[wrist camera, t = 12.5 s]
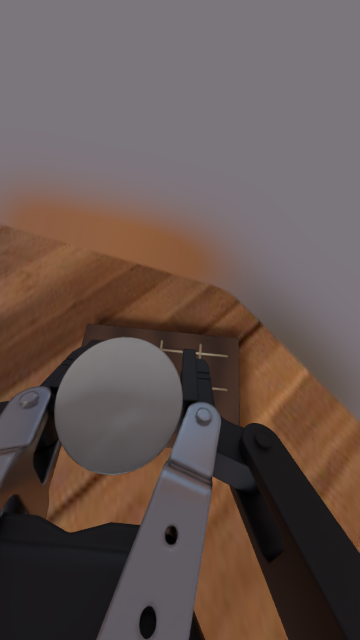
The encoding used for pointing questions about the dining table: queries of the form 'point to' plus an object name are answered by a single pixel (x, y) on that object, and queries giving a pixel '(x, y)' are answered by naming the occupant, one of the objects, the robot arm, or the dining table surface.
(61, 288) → the dining table surface
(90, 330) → the board
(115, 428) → the white upright cylinder
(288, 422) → the dining table surface
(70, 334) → the dining table surface
